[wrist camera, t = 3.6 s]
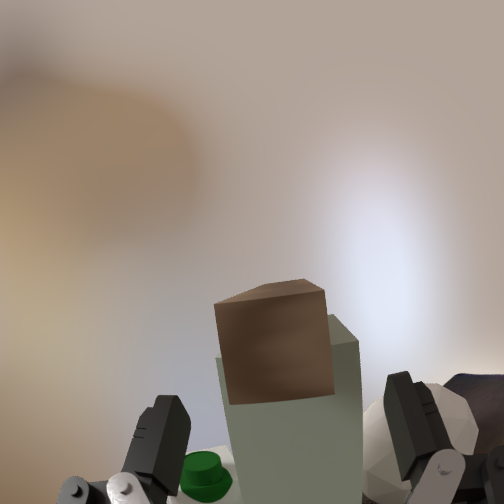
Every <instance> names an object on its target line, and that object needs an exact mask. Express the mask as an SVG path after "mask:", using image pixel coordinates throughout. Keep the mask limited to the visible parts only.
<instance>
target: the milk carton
mask: <svg viewBox="0 0 504 504" xmlns="http://www.w3.org/2000/svg"><path fill="white" fill-rule="evenodd" d="M169 501H170V504H243V500H242V495H241V491H240V486H239V481H238V477H237V472H236V467H235V462H234V457H233V454H232V453H231V452H230V450H229V449H228V447H227V445H223V446H218V447H213V448H208V449H202V450H197V451H191V452H186V455H185V459H184V464H183V469H182V474H181V479H180V484H179V489H178V494H177V497H175V496H169Z"/></svg>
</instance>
